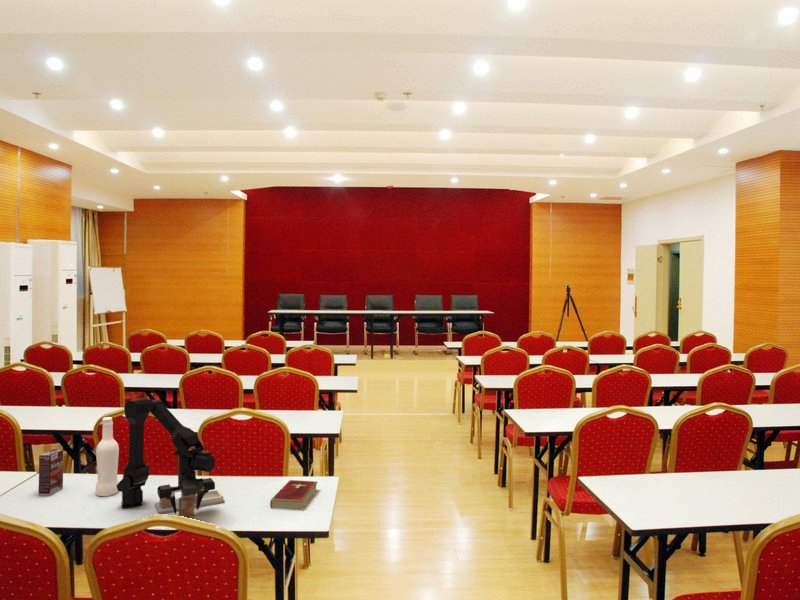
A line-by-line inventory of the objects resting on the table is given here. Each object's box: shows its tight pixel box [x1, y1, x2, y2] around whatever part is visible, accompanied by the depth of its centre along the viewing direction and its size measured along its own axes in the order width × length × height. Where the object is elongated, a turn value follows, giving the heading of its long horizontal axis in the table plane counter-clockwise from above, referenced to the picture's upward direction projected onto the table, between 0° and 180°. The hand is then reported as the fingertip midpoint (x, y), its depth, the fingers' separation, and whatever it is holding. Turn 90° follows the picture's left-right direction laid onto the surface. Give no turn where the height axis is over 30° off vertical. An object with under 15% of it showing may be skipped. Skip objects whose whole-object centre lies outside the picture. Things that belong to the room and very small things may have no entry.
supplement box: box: [38, 448, 64, 497], centre depth 220 cm, size 9×5×16 cm, turn 0°
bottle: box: [95, 416, 120, 497], centre depth 219 cm, size 8×8×30 cm
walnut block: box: [178, 496, 195, 518], centre depth 199 cm, size 4×4×6 cm
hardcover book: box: [269, 479, 318, 511], centre depth 216 cm, size 12×21×4 cm, turn 172°
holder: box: [154, 485, 225, 515], centre depth 209 cm, size 23×10×7 cm, turn 121°
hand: (186, 511), depth 199 cm, fingers open, 7 cm apart
